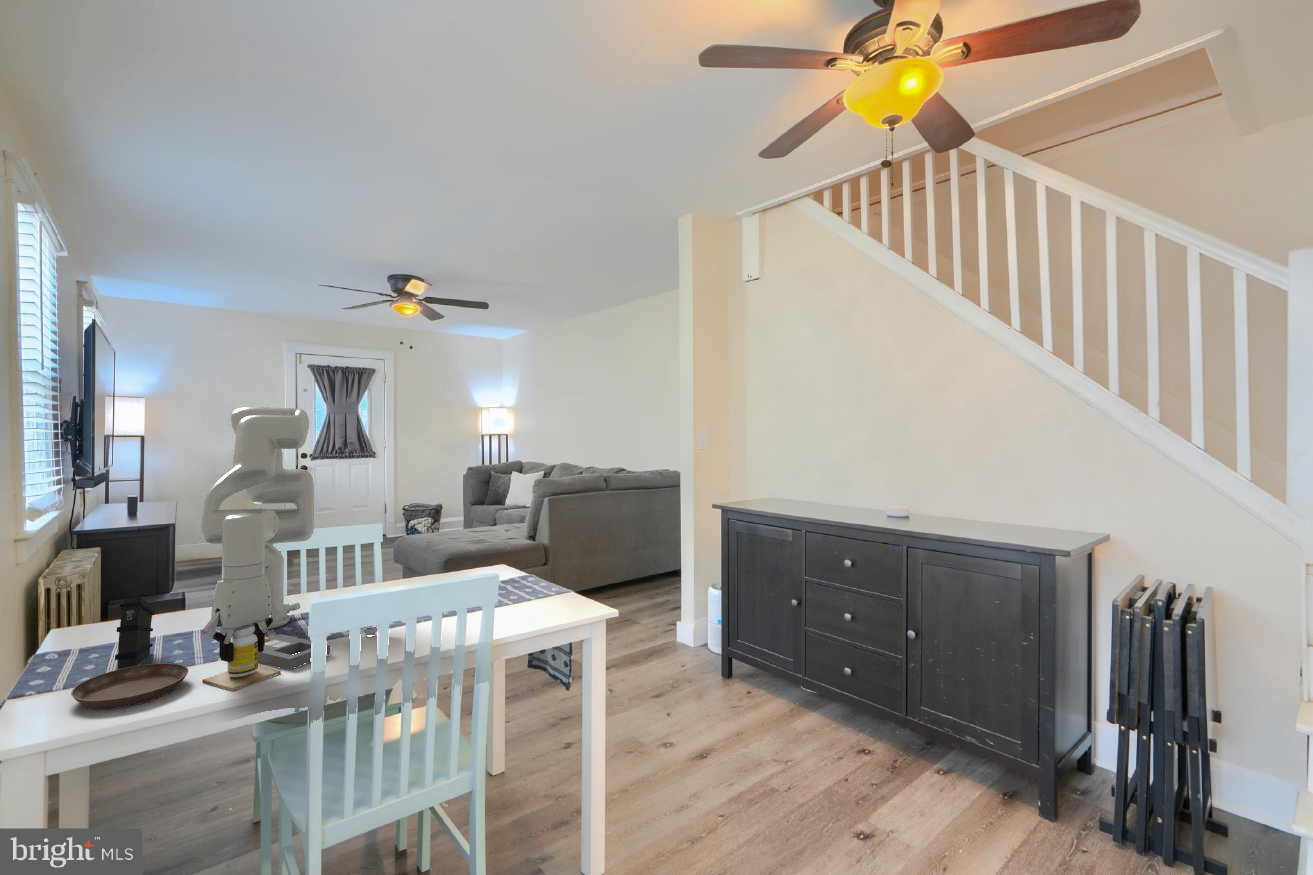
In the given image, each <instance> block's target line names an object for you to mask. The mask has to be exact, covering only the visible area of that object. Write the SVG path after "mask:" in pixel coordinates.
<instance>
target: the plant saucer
mask: <svg viewBox="0 0 1313 875" xmlns="http://www.w3.org/2000/svg"><path fill="white" fill-rule="evenodd" d="M188 674H189V668H188V667H187V666H185V665H183V664H181V663H172V662H170V663H169V662H160V663H158V662H157V663H147V664H139V665H138V666H132V667H127V668H123V669H119V670H118V669H116V670H112V671H111V670H110V671H109V672H105V673H102V674H99V675H96V676H93V677H91V678H89V679H86V680H85V681H82V682H81V683H79V684H78V685H76V686H75V687H73V688H72V690H71V692H70V695H71V697H72V698H73V699H74V700H75V701H76V702H78V703H79V704H80V705H82V706H84V707H86V708H89V709H92V710H113V709H114V708H115V709H120V708H121V709H122V708H126V707H132V706H135V705H141V704H144V703H147V702H151V701H154V700H156V699H159V698H163V697H164V696H165V695H168V694H170V693H171V692H173V691H174V690H175V689H176V688H177V687H179V686H180V685H181V683H182V682H183V681H184V679H185V678H186V676H188Z"/></svg>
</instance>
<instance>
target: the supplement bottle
mask: <svg viewBox="0 0 1313 875" xmlns="http://www.w3.org/2000/svg"><path fill="white" fill-rule="evenodd" d="M253 632H254V626H253V625H245V626H242V627H238V628H235V630H234V632H233V635H232V638H231V641H230V642H232V643H233V661H232V662H227V671H228V675H229V676H230V677H242V676H246V675H249V674H252V673H254V672H256V671H257V669H258V665H259V663H258V638H257V636H256V635H253V634H252V633H253Z"/></svg>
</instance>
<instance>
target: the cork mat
mask: <svg viewBox="0 0 1313 875" xmlns="http://www.w3.org/2000/svg"><path fill="white" fill-rule="evenodd" d="M279 673H280V674H281V670H279V669H274V668H270V667H267V666H264V665H263V666H262V665H259V664H258V669H257V671H256V672H254V673H252V674H249V675H246V676H242V677H230V676H229V675H228V670H226V671H224V672H222V673H221V672H220V673H219V674H215V675H213V676H209V677H206V678H203V679H202V681H201V682H202V683H203V684H207V685H209V686H210V685H211V686H212V687H213V686H214V687H217V688H221V689H223V690H226V691H231V692H234V691H236V690H239V688H240V689H241V688H245V687H247V686H250V685H253V684H256V683H258V681H259V682H261V681H264V680H267V679H269V677H270V676H272V677H275V676H277V675H276V674H278V675H280V674H279ZM274 675H275V676H274ZM266 678H267V679H266ZM270 678H271V677H270ZM263 679H264V680H263Z"/></svg>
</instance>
